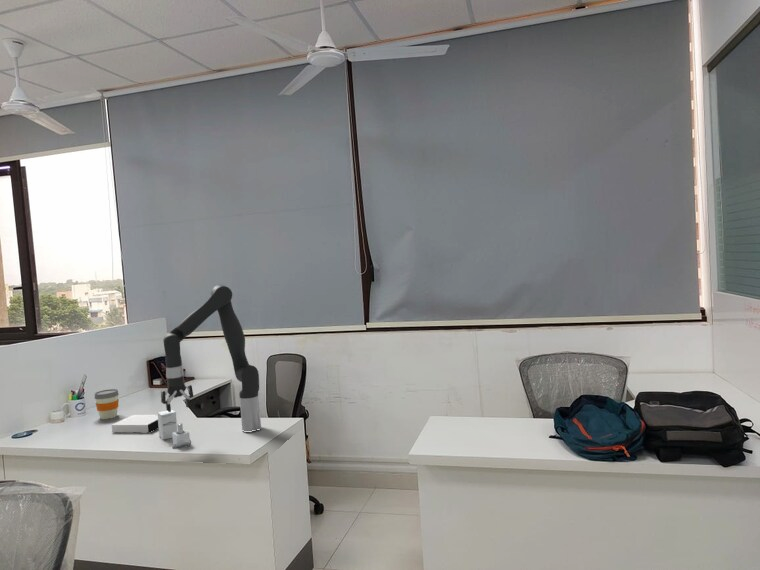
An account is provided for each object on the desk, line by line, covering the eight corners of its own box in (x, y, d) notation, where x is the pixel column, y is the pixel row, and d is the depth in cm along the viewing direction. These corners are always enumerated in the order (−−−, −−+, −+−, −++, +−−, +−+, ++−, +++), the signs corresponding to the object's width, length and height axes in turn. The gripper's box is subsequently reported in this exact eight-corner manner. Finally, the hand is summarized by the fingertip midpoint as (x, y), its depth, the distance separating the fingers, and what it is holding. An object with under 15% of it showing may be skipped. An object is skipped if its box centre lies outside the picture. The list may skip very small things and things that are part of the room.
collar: (190, 442, 248) (189, 432, 248) (177, 446, 245) (176, 435, 244) (185, 439, 253) (184, 429, 253) (172, 443, 249) (172, 432, 249)
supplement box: (162, 440, 258) (160, 415, 257) (159, 436, 264) (156, 412, 263) (178, 436, 262) (176, 411, 261) (174, 433, 268) (172, 408, 267)
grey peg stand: (190, 441, 253) (188, 421, 252) (188, 446, 246) (186, 425, 246) (175, 443, 252) (173, 423, 251) (172, 448, 245) (170, 427, 244)
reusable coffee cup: (124, 413, 313) (122, 388, 312) (112, 419, 301) (109, 394, 300) (105, 414, 314) (102, 389, 314) (91, 420, 302) (89, 395, 301)
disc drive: (149, 433, 271) (149, 424, 271) (112, 433, 276) (111, 424, 275) (170, 423, 288) (169, 414, 288) (134, 423, 293) (133, 414, 293)
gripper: (162, 380, 240) (166, 414, 241) (193, 373, 249) (196, 406, 250) (157, 377, 245) (160, 411, 246) (187, 371, 255) (190, 404, 256)
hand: (178, 409), depth 248 cm, fingers open, 8 cm apart
